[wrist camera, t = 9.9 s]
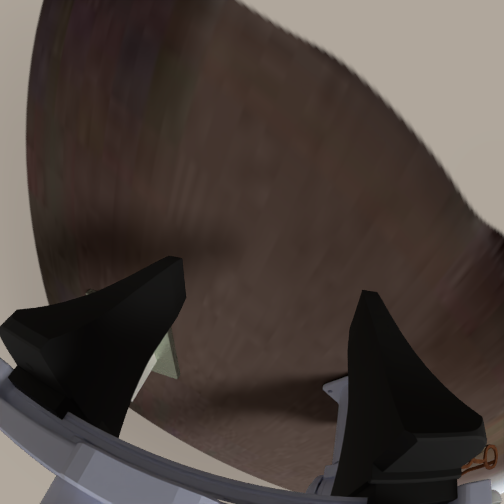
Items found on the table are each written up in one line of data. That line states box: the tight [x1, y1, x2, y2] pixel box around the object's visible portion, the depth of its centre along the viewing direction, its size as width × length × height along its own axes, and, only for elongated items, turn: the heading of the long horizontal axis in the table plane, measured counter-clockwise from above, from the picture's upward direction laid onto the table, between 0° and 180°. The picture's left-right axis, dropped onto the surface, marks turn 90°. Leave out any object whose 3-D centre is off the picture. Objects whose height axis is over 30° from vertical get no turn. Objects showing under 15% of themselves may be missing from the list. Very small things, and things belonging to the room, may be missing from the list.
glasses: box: [461, 445, 498, 476], centre depth 31 cm, size 13×13×5 cm
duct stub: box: [86, 289, 180, 379], centre depth 29 cm, size 10×10×4 cm
